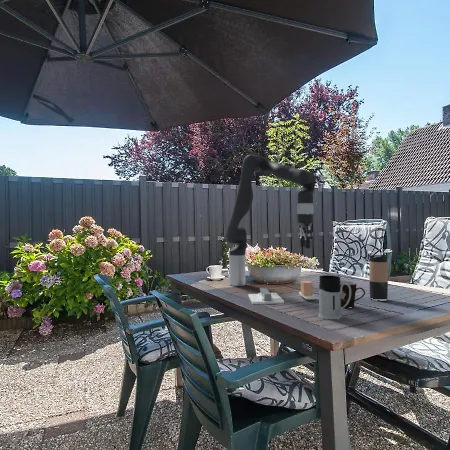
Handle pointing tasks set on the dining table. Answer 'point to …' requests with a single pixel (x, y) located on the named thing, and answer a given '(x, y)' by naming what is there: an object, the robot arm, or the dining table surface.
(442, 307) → the dining table surface
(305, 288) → the tan block on plate
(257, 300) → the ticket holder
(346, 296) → the coffee mug
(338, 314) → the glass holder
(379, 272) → the travel mug
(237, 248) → the robot arm
